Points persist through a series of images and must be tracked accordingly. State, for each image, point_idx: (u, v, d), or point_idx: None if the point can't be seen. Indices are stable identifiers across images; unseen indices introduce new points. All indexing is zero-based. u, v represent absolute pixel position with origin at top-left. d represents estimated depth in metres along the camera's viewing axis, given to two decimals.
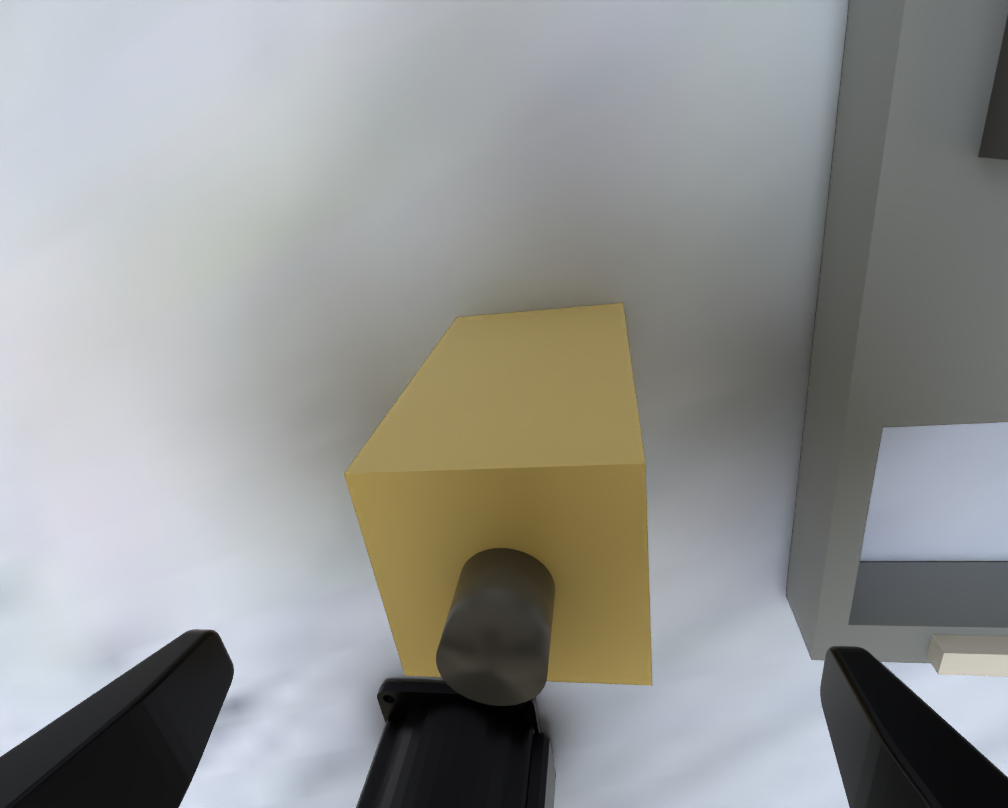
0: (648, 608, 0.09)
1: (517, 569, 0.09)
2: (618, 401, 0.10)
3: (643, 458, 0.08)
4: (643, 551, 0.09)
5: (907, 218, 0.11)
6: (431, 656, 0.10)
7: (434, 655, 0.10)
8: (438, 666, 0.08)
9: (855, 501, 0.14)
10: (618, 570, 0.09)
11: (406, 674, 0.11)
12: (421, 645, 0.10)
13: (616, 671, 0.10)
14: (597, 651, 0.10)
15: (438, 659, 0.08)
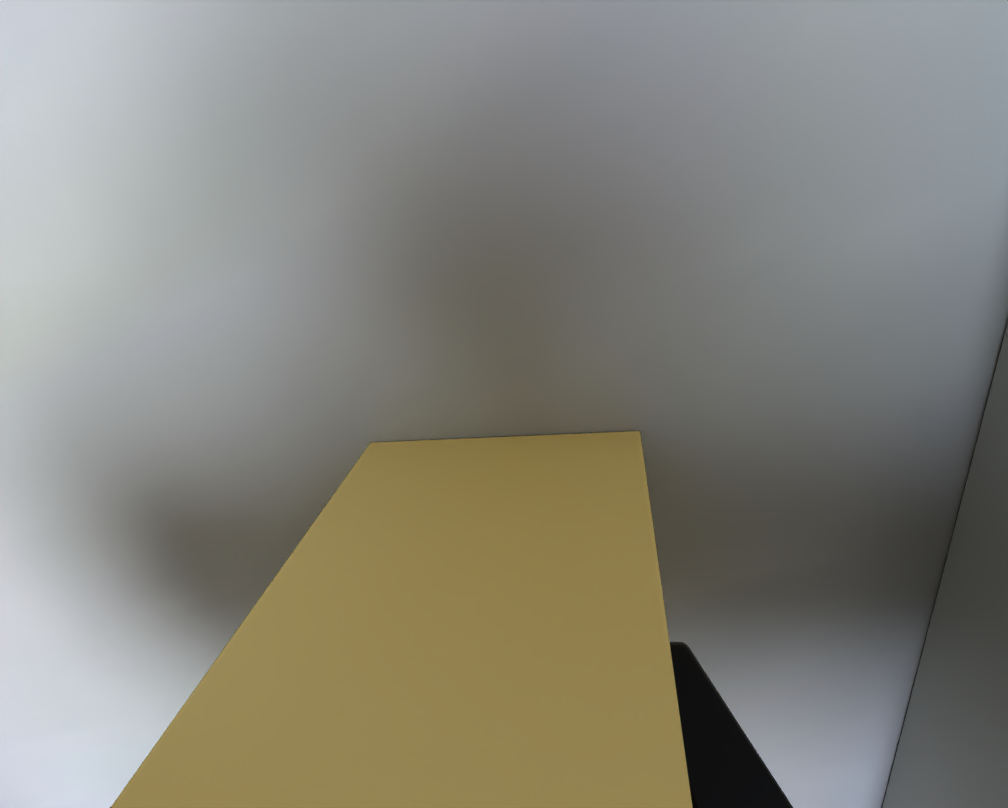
0: None
1: None
2: None
3: None
4: None
5: None
6: None
7: None
8: None
9: None
10: None
11: None
12: None
13: None
14: None
15: None
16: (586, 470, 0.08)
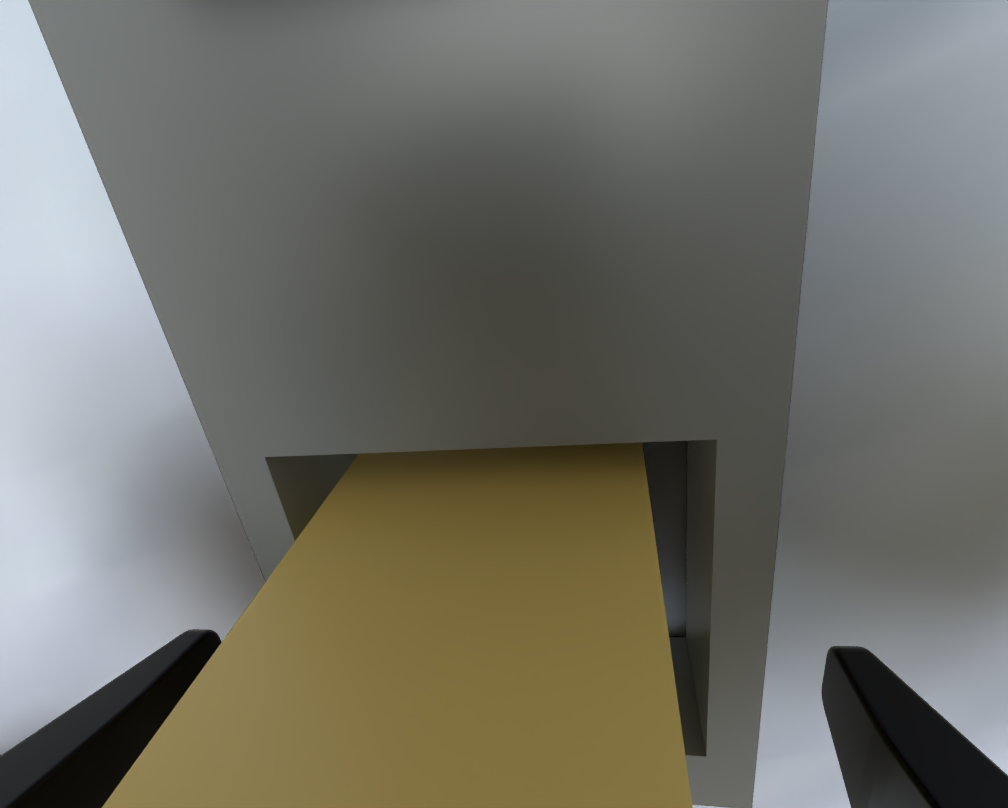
0: None
1: None
2: (643, 742, 0.04)
3: None
4: None
5: (116, 97, 0.06)
6: None
7: None
8: None
9: None
10: None
11: None
12: None
13: None
14: None
15: None
16: None
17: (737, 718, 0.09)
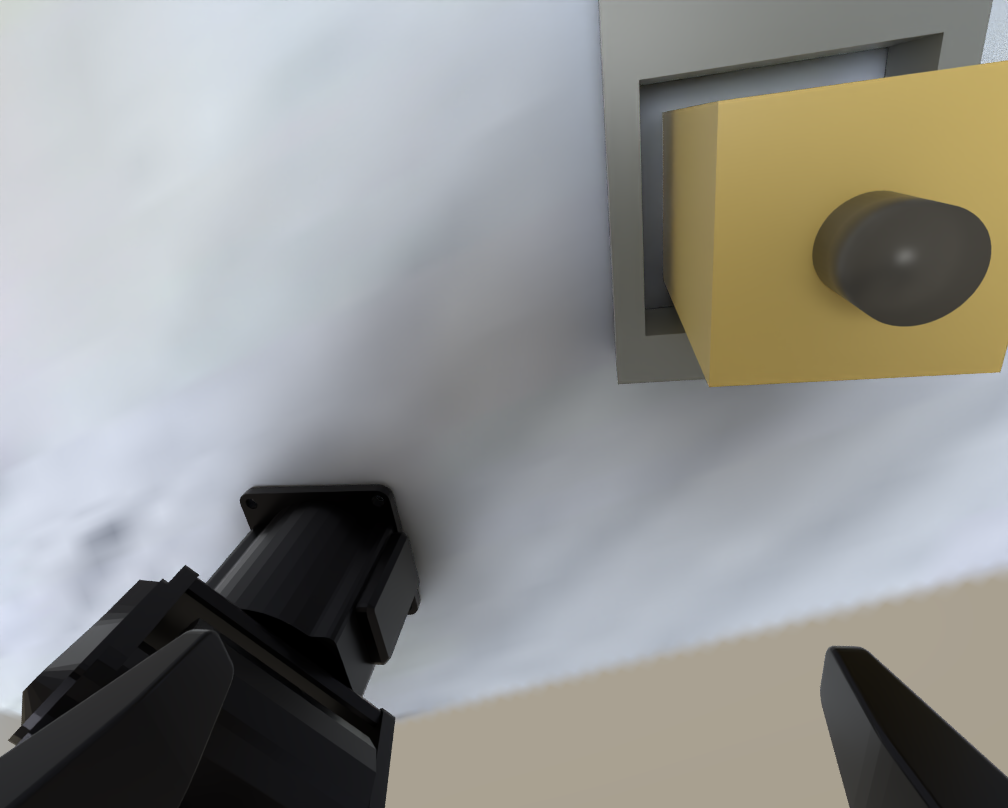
0: None
1: None
2: None
3: None
4: None
5: None
6: (749, 355, 0.10)
7: (752, 354, 0.10)
8: (851, 278, 0.08)
9: (628, 177, 0.14)
10: (1007, 209, 0.08)
11: (710, 385, 0.10)
12: (741, 341, 0.10)
13: (964, 356, 0.09)
14: (948, 329, 0.09)
15: (860, 261, 0.07)
16: None
17: None
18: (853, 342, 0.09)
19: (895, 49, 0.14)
